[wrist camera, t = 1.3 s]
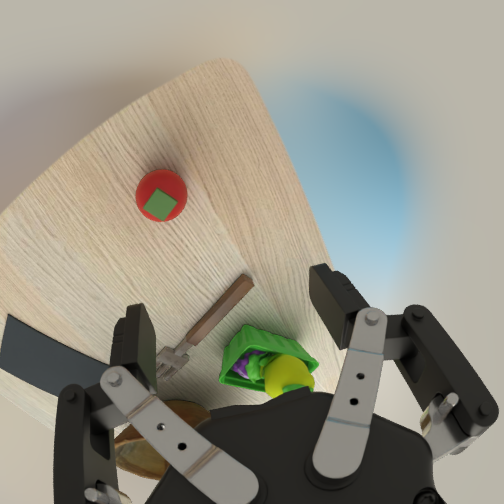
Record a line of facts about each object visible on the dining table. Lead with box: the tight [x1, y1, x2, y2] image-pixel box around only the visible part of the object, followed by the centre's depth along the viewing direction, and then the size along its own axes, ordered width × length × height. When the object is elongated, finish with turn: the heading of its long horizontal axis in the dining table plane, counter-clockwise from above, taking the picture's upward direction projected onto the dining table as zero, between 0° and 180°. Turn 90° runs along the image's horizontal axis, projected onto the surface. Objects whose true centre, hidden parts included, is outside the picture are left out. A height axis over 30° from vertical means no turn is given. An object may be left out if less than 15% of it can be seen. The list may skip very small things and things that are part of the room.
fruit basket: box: [219, 324, 319, 398], centre depth 35 cm, size 11×9×11 cm
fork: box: [156, 274, 254, 381], centre depth 35 cm, size 20×4×1 cm, turn 138°
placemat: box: [0, 314, 109, 397], centre depth 34 cm, size 16×14×1 cm
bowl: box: [114, 400, 211, 481], centre depth 40 cm, size 22×23×10 cm
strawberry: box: [136, 169, 187, 222], centre depth 24 cm, size 4×4×4 cm
